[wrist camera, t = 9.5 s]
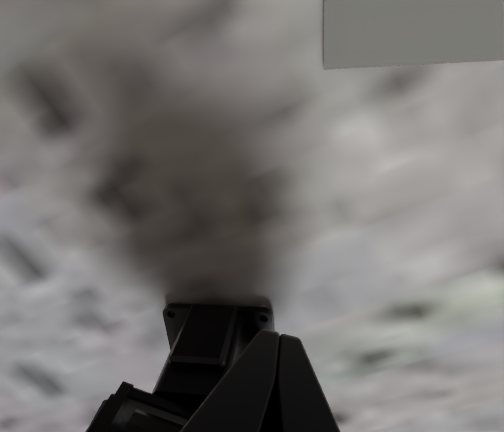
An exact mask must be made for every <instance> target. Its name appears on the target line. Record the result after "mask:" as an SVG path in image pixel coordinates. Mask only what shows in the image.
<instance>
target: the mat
mask: <svg viewBox="0 0 504 432" xmlns="http://www.w3.org/2000/svg"><path fill="white" fill-rule="evenodd" d="M495 60H504V0H324V69H342V68H361V67H381V66H400V65H419V64H438V63H457V62H476V61H495Z"/></svg>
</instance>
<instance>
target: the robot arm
mask: <svg viewBox="0 0 504 432" xmlns="http://www.w3.org/2000/svg"><path fill="white" fill-rule="evenodd" d="M170 311H172V312H174V313H171V312H170ZM263 315H264V316H266V318H263V317H261V316H263ZM163 317H164V322H165V326H166V331H167V336H168V340H169V345H170V350H171V351H170V353H169V356H168V358H167V360H166V363H165V365H164V367H163V369H162V372H161V374H160V376H159V379H158V381H157V383H156V385H155V388H154V390H153V392H152V394H151V393H148V392H145V391H143V390H140V389H137V388H134V387H133V386H134V385H132V384H129V383H126V382H124V381H123V382H122V384H121V385H120V387H119V388H118V390H117V392H116V393H115V394H111V395H110V397H109V398H108V400H104V401H103V402H102V404H101V406H100V408H99V410H98V411H97V413H96V415H95V417H94V419H93V420H92V422H91V424H90V426H89V427H88V429H87V430H86V432H340V430H339V428H338V425H337V423H336V421H335V418H334V416H333V414H332V412H331V409H330V407H329V405H328V402H327V400H326V398H325V395H324V393H323V391H322V388H321V386H320V384H319V381H318V379H317V377H316V375H315V372H314V370H313V368H312V365H311V363H310V361H309V358H308V356H307V354H306V351H305V349H304V347H303V345H302V342H301V340H300V339H299V338H297V337H294V336H290V335H286V334H281V335H279V333H278V332H274V322H273V313H272V311H271V310H270V309H268V308H264V307H243V306H221V305H198V304H175V303H171V304H167V305H166V307H165V309H164V310H163Z"/></svg>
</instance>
